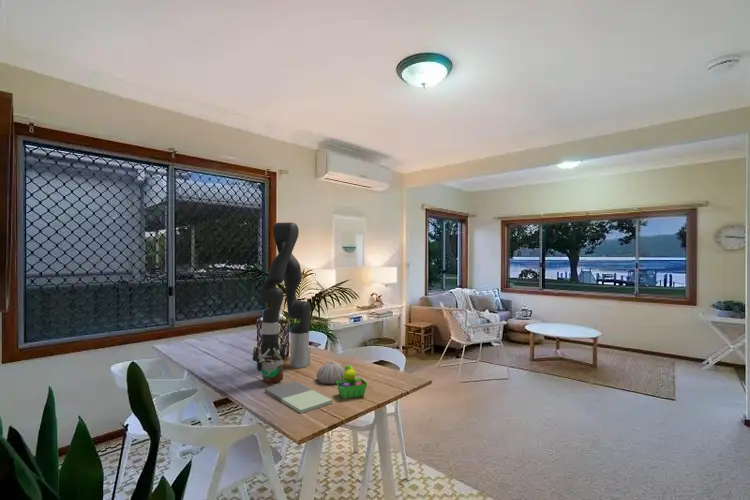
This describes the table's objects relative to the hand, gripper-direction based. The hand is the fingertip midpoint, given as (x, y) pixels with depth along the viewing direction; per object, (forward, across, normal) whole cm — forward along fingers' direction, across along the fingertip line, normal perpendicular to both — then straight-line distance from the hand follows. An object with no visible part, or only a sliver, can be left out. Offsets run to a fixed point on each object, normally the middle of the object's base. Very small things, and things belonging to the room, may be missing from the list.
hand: (268, 368), depth 162 cm
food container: (+6, -1, 0) cm, 6 cm away
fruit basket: (+6, -19, +34) cm, 40 cm away
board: (+7, -1, +22) cm, 23 cm away
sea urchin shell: (+6, -23, +16) cm, 29 cm away
